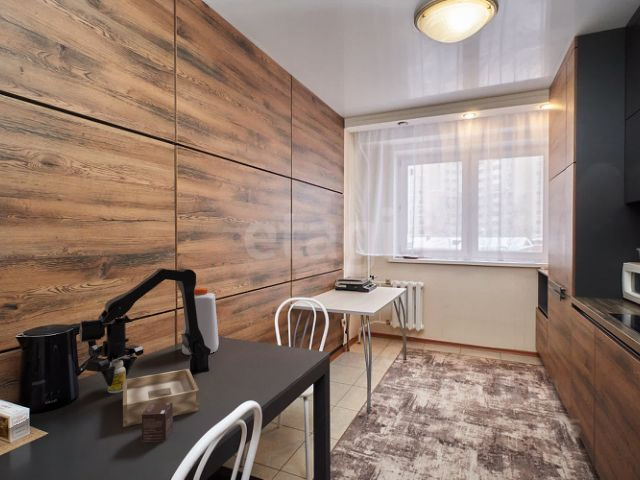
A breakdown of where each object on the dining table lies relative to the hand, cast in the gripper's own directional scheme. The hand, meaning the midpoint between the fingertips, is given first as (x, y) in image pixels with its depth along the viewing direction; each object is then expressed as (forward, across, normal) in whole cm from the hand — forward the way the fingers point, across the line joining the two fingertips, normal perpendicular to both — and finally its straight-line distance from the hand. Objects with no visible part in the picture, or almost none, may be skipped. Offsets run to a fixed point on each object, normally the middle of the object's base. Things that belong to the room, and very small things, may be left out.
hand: (116, 382), depth 123 cm
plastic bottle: (+3, -45, +1) cm, 45 cm away
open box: (+2, +4, +21) cm, 22 cm away
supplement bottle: (+3, 0, 0) cm, 3 cm away
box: (+3, +19, +33) cm, 38 cm away
